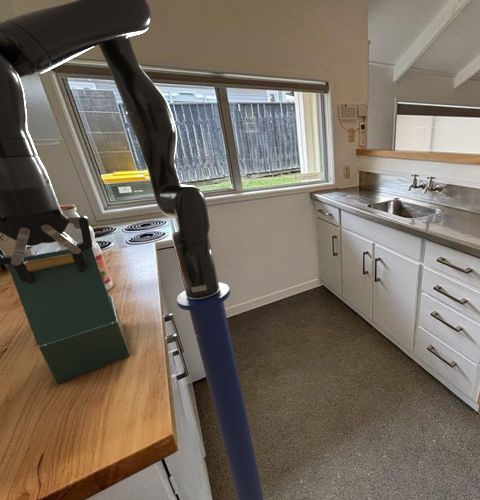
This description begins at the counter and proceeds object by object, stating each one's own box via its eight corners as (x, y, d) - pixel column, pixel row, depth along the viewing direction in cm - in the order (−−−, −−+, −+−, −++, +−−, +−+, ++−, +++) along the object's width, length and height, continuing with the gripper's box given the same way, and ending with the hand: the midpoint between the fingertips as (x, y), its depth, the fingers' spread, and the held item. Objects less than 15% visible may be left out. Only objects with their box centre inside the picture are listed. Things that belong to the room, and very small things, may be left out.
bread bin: (60, 345, 66) (45, 313, 63) (122, 325, 73) (111, 295, 70) (57, 384, 55) (39, 347, 52) (129, 355, 63) (117, 322, 60)
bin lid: (6, 260, 51) (-4, 258, 47) (91, 245, 58) (88, 242, 54) (38, 345, 52) (31, 350, 48) (116, 320, 60) (116, 322, 55)
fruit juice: (118, 281, 98) (90, 201, 88) (106, 294, 89) (74, 207, 80) (84, 286, 95) (52, 203, 85) (69, 299, 87) (31, 210, 77)
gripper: (77, 179, 54) (105, 260, 60) (-44, 188, 45) (3, 282, 51) (77, 182, 49) (108, 271, 55) (-61, 193, 40) (-6, 297, 46)
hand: (57, 276), depth 53 cm, fingers open, 6 cm apart
